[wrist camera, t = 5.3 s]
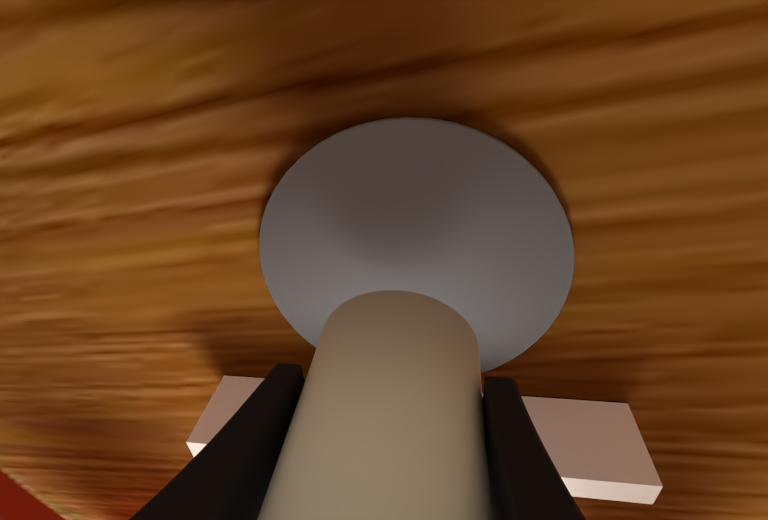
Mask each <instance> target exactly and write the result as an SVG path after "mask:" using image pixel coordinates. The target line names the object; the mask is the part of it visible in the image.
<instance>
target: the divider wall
mask: <svg viewBox="0 0 768 520" xmlns="http://www.w3.org/2000/svg"><path fill="white" fill-rule="evenodd" d="M264 379H265V378H254V377H239V376H225V375H224V377H223V378H222V380H221V382H220V384H219V385H218V387H217V389H216V391H215V392H214V394H213V396H212V398H211V399H210V401H209V403H208V405H207V406H206V408H205V410H204V412H203V413H202V415H201V417H200V419H199V420H198V422H197V424H196V426H195V427H194V429H193V431H192V433H191V434H190V436H189V438H188V440H187V441H186V443H187V445H188V447H189V449H190V451H191V453H192V454H193V456H194V457H195V456H196V455H197V454H198V453H199V452H200V451H201V450H202V449H203V448H204V447H205V446H206V445H207V444H208V443H209V442H210V440H211V439H212V438H213V437H214V436H215V435H216V434H217V433H218V432H219V431H220V429H221V428H222V427H223V426H224V425H225V424H226V423H227V422H228V421H229V419H230V418H231V417H232V416H233V415H234V414H235V413H236V412H237V410H238V409H239V408H240V407H241V406H242V405H243V403H244V402H245V401H246V400H247V399H248V398H249V396H250V395H251V394H252V393H253V392H254V391H255V389H256V388H257V387H258V386H259V385H260V383H261V382H262V381H263V380H264ZM482 395H483V393H482ZM521 397H522V400H523V402H524V405H525V407H526V409H527V411H528V414H529V416H530V418H531V420H532V422H533V424H534V426H535V429H536V431H537V433H538V435H539V437H540V439H541V441H542V443H543V445H544V447H545V449H546V451H547V452H548V454H549V456H550V458H551V460H552V462H553V464H554V465H555V467H556V469H557V471H558V473H559V475H560V477H561V478H562V480H563V482H564V484H565V485H566V487H567V489H568V491H569V492H570V494H571V496H573V497H583V498H593V499H603V500H613V501H623V502H634V503H644V504H653V503H654V501H655V500H656V498H657V496H658V495H659V493H660V491H661V489H662V488H663V485H662V483H661V481H660V478H659V476H658V474H657V471H656V469H655V467H654V464H653V462H652V459H651V457H650V455H649V452H648V450H647V448H646V445H645V443H644V441H643V438H642V436H641V434H640V431H639V429H638V426H637V424H636V422H635V419H634V417H633V415H632V412H631V410H630V408H629V405H628V403H616V402H601V401H587V400H572V399H558V398H543V397H529V396H521Z"/></svg>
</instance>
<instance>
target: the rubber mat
mask: <svg viewBox="0 0 768 520" xmlns="http://www.w3.org/2000/svg"><path fill="white" fill-rule="evenodd" d="M259 256H260V262H261V268H262V273H263V276H264V279H265V282H266V285H267V288H268V290H269V292H270V294H271V296H272V298H273V300H274V302H275V304H276V305H277V307H278V308H279V310H280V312H281V313H282V315H283V316H284V317H285V319H286V320H287V321H288V322H289V323H290V324H291V326H292V327H293V328H294V329H295V330H296V331H297V332H298V333H299V334H300V335H301V336H302V337H303V338H304V339H305V340H307V341H308V342H309V343H310V344H312V345H313V346H314V347H316V348H317V345H318V342H319V339H320V336H321V333H322V331H323V328H324V325H325V323H326V321H327V319H328V317H329V316H330V315H331V313H332V312H333V311H334V310H335V309H336V308H337V307H338V306H340V305H341V304H343V303H344V302H346V301H348V300H350V299H352V298H354V297H356V296H359V295H362V294H365V293H369V292H374V291H382V290H400V291H409V292H414V293H419V294H422V295H426V296H429V297H432V298H434V299H436V300H439V301H441V302H443V303H444V304H446V305H448V306H450V307H451V308H452V309H454V310H455V311H457V312H458V313H459V314H460V315H461V316H462V317H463V318H464V319H465V320H466V321H467V322H468V324H469V325H470V326H471V328H472V330H473V331H474V333H475V335H476V338H477V341H478V346H479V356H480V369H481V373H483V372H486V371H489V370H492V369H494V368H496V367H498V366H500V365H502V364H504V363H507V362H509V361H510V360H512V359H513V358H515V357H517V356H518V355H520V354H521V353H523V352H524V351H526V350H527V349H528V348H529V347H530V346H532V345H533V344H534V343H535V342H536V341H538V339H539V338H540V337H541V336H542V335H543V334H544V333H545V332H546V331H547V330H548V329H549V327H550V326H551V325H552V323H553V322H554V320H555V319H556V318H557V316H558V315H559V313H560V311H561V309H562V307H563V305H564V303H565V301H566V299H567V296H568V293H569V290H570V286H571V283H572V277H573V271H574V244H573V239H572V233H571V228H570V225H569V223H568V220H567V217H566V214H565V212H564V209H563V207H562V205H561V203H560V202H559V200H558V198H557V196H556V194H555V193H554V191H553V189H552V187H551V186H550V184H549V183H548V182H547V181H546V180H545V178H544V177H543V176H542V175H541V173H540V172H539V171H538V170H537V168H535V167H534V166H533V165H532V164H531V163H530V162H529V161H528V160H527V159H526V158H525V157H523V156H522V155H521V154H520V153H519V152H517V151H516V150H514V149H513V148H511V147H510V146H508V145H507V144H505V143H504V142H502V141H501V140H499V139H497V138H495V137H493V136H491V135H489V134H486V133H484V132H482V131H480V130H478V129H475V128H472V127H469V126H466V125H462V124H459V123H456V122H451V121H446V120H440V119H435V118H424V117H397V118H386V119H379V120H375V121H370V122H366V123H362V124H358V125H355V126H353V127H350V128H348V129H345V130H342V131H340V132H337V133H335V134H334V135H332V136H330V137H328V138H326V139H325V140H323V141H321V142H319V143H318V144H317V145H315V146H314V147H313V148H311V149H310V150H309V151H307V152H306V153H305V154H303V155H302V156H301V157H300V158H299V159H298V160H297V161H296V163H295V164H294V165H293V166H292V167H291V168H290V169H289V170H288V171H287V172H286V173H285V175H284V176H283V177H282V179H281V180H280V182H279V183H278V185H277V186H276V188H275V189H274V191H273V193H272V195H271V197H270V199H269V201H268V203H267V205H266V208H265V212H264V215H263V218H262V222H261V228H260V236H259Z"/></svg>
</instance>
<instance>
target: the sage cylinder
mask: <svg viewBox="0 0 768 520" xmlns="http://www.w3.org/2000/svg"><path fill="white" fill-rule="evenodd" d="M257 520H492V511H491V499H490V486H489V473H488V460H487V447H486V436H485V423H484V410H483V395H482V382H481V369H480V356H479V346H478V341H477V338H476V335H475V333H474V331H473V330H472V328H471V326H470V325H469V324H468V322H467V321H466V320H465V319H464V318H463V317H462V316H461V315H460V314H459V313H458V312H457V311H455V310H454V309H452V308H451V307H450V306H448V305H446V304H444V303H443V302H441V301H439V300H436V299H434V298H432V297H429V296H426V295H422V294H419V293H414V292H409V291H400V290H382V291H374V292H369V293H365V294H362V295H359V296H356V297H354V298H352V299H350V300H348V301H346V302H344V303H343V304H341V305H340V306H338V307H337V308H336V309H335V310H334V311H333V312H332V313H331V315H330V316H329V317H328V319H327V321H326V323H325V325H324V328H323V331H322V333H321V336H320V339H319V342H318V345H317V348H316V351H315V354H314V357H313V359H312V362H311V365H310V368H309V371H308V374H307V377H306V380H305V383H304V385H303V388H302V391H301V394H300V397H299V400H298V403H297V406H296V409H295V412H294V414H293V417H292V420H291V423H290V426H289V429H288V432H287V435H286V438H285V440H284V443H283V446H282V449H281V452H280V455H279V458H278V461H277V464H276V467H275V469H274V472H273V475H272V478H271V481H270V484H269V487H268V490H267V493H266V495H265V498H264V501H263V504H262V507H261V510H260V513H259V516H258V519H257Z"/></svg>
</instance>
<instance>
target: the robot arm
mask: <svg viewBox="0 0 768 520" xmlns="http://www.w3.org/2000/svg"><path fill="white" fill-rule="evenodd" d="M304 383H305V381H304V376H303V372H302V368H301V365H295V364H279V363H278V364H277V365H276V366H274V368H273V369H272V370H271V371H270V372H269V374H268V375H267V376H266V377H265V379H264V380H263V381H262V382H261V383H260V385H259V386H258V387H257V388H256V389H255V391H254V392H253V393H252V394H251V395H250V396H249V398H248V399H247V400H246V401H245V402H244V403H243V405H242V406H241V407H240V408H239V409H238V410H237V412H236V413H235V414H234V415H233V416H232V417H231V418H230V419H229V421H228V422H227V423H226V424H225V425H224V426H223V427H222V428H221V429H220V431H219V432H218V433H217V434H216V435H215V436H214V437H213V438H212V439H211V440H210V442H209V443H208V444H207V445H206V446H205V447H204V448H203V449H202V450H201V451H200V452H199V453H198V454H197V455H196V456H195V457H194V458H193V459H192V460H191V461H190V462H189V463H188V464H187V465H186V466H185V467H184V468H183V469H182V470H181V471H180V472H179V473H178V474H177V475H176V476H175V477H174V478H173V479H172V480H171V481H170V482H169V483H168V484H167V485H166V486H165V487H164V488H163V489H162V490H161V491H160V492H159V493H158V494H157V495H155V496H154V497H153V498H152V499H151V500H150V501H149V502H148V503H147V504H146V505H145V506H143V507H142V508H141V509H140V510H139V511H138V512H137V513H136V514H135V515H133V516H132V517H131V518H130V519H129V520H257V519H258V516H259V513H260V510H261V507H262V504H263V501H264V498H265V495H266V493H267V490H268V487H269V484H270V481H271V478H272V475H273V472H274V469H275V467H276V464H277V461H278V458H279V455H280V452H281V449H282V446H283V443H284V440H285V438H286V435H287V432H288V429H289V426H290V423H291V420H292V417H293V414H294V412H295V409H296V406H297V403H298V400H299V397H300V394H301V391H302V388H303V385H304ZM483 410H484V423H485V436H486V447H487V460H488V473H489V486H490V499H491V511H492V520H586V519H585V517H584V516H583V514H582V512H581V511H580V509H579V507H578V506H577V504H576V502H575V501H574V499H573V497H572V496H571V494H570V492H569V491H568V489H567V487H566V485H565V484H564V482H563V480H562V478H561V477H560V475H559V473H558V471H557V469H556V467H555V465H554V464H553V462H552V460H551V458H550V456H549V454H548V452H547V451H546V449H545V447H544V445H543V443H542V441H541V439H540V437H539V435H538V433H537V431H536V429H535V426H534V424H533V422H532V420H531V418H530V416H529V414H528V411H527V409H526V407H525V405H524V402H523V400H522V397H521V395H520V392H519V390H518V387H517V384H516V382H515V381H514V380H513V379H512V378H501V377H485V383H484V391H483Z"/></svg>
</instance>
